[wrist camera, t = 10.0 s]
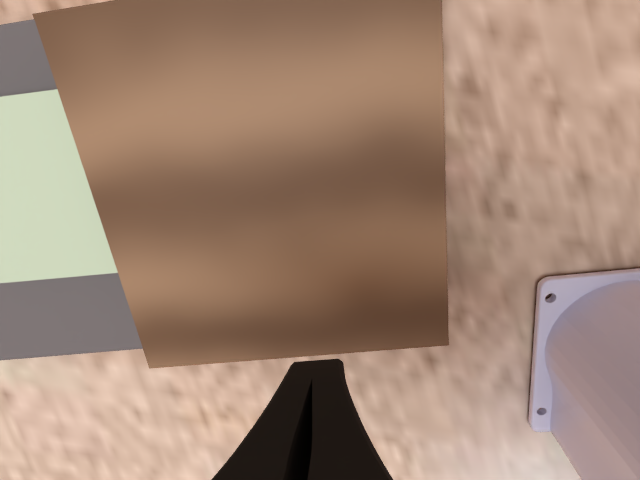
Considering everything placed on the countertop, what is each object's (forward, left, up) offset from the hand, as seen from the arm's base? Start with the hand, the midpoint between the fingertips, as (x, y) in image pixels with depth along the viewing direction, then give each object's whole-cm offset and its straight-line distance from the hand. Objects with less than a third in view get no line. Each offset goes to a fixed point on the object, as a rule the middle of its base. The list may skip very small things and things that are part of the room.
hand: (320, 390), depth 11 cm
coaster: (+5, +13, -9) cm, 17 cm away
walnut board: (+4, +2, -9) cm, 10 cm away
